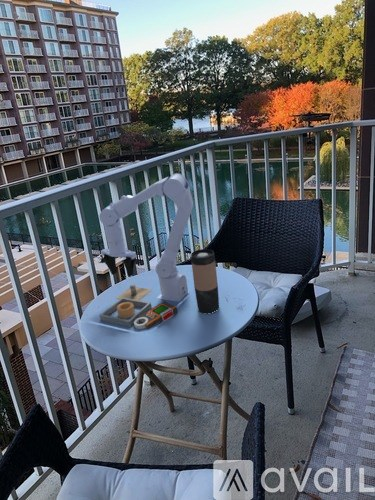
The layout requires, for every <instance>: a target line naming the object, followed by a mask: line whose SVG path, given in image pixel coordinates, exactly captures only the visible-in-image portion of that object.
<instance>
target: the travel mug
mask: <svg viewBox="0 0 375 500" xmlns="http://www.w3.org/2000/svg"><path fill="white" fill-rule="evenodd" d="M215 255H216V254H215V252H214V250H213V249H207V248H203V249H202V248H201V249H197V250H195V251H192V252H191V254H190V260H191V268H192V277H193V287H194V293H195V299H196V305H197V310H198V312H199V313H200V314H203V313H206V314H205V315H209V314H208V313H211V314H213V313H212V312H214V311H216V310H218V311H219V309H220V300H219V299H220V297H219V285H218V283H219V282H218V277H217V265H216V258H215V257H216V256H215ZM218 308H219V309H218ZM216 312H217V311H216ZM214 313H215V312H214Z"/></svg>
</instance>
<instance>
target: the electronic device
mask: <svg viewBox="0 0 375 500" xmlns="http://www.w3.org/2000/svg"><path fill="white" fill-rule="evenodd" d="M178 313H179V310H178V307H177V306H175V305H173V304H172V303H170V302H168V301H166V300H165V301H162V302H161V303H159V304H157V305H155V306H154V307H152V308H151V309H150V310H149V311H147V312H145V313H144V314H142V315H140V316H138V317H137V318H136V320H135V321H134V324H133V325H134V328H135V329H138V330H143V329H146V328H147V329H151V327H153V326H155V325H156V326H158V325H160V324H162V323H164V322H166V321H168V320H170V319H171V318H173V317H174V316H175V315H177V314H178Z"/></svg>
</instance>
